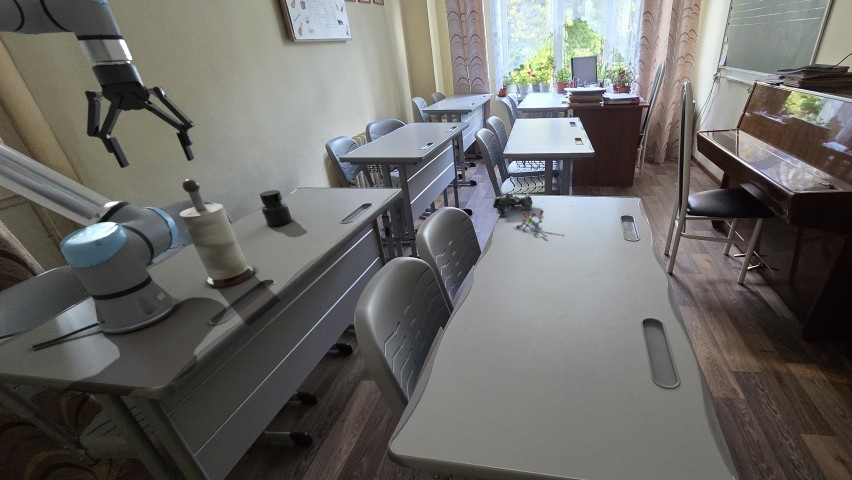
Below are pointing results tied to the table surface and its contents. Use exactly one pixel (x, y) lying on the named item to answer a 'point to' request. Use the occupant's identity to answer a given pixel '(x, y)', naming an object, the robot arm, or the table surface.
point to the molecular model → (530, 221)
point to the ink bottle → (275, 208)
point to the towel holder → (214, 240)
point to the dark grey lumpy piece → (511, 202)
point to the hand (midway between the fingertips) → (159, 163)
